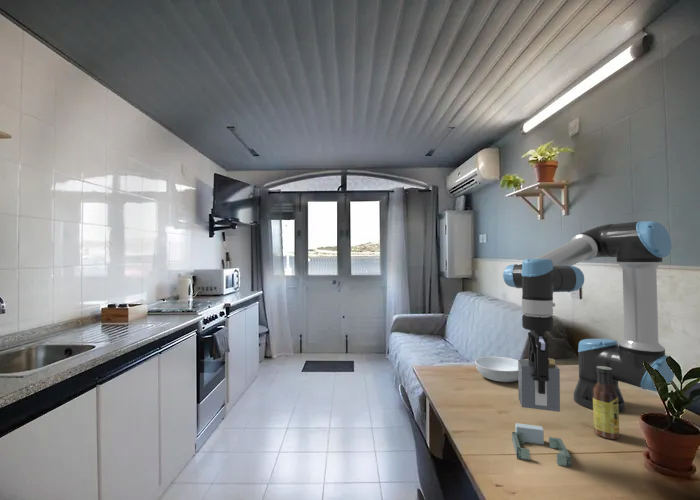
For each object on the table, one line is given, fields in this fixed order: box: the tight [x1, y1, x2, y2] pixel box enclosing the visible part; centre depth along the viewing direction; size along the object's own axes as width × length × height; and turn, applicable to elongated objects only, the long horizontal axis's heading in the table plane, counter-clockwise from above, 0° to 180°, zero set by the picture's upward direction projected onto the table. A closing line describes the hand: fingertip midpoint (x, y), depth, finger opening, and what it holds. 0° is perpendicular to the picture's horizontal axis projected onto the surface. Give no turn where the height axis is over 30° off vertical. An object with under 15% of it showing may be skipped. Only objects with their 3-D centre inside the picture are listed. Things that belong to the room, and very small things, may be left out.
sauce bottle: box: [592, 366, 620, 440], centre depth 105 cm, size 6×6×20 cm
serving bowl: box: [474, 355, 519, 383], centre depth 153 cm, size 21×21×7 cm
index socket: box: [511, 431, 572, 468], centre depth 95 cm, size 12×10×2 cm
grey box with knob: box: [517, 357, 561, 413], centre depth 95 cm, size 9×6×13 cm, turn 72°
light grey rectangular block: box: [514, 422, 545, 445], centre depth 101 cm, size 7×2×4 cm, turn 72°
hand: (538, 399), depth 95 cm, fingers closed on grey box with knob, 6 cm apart
